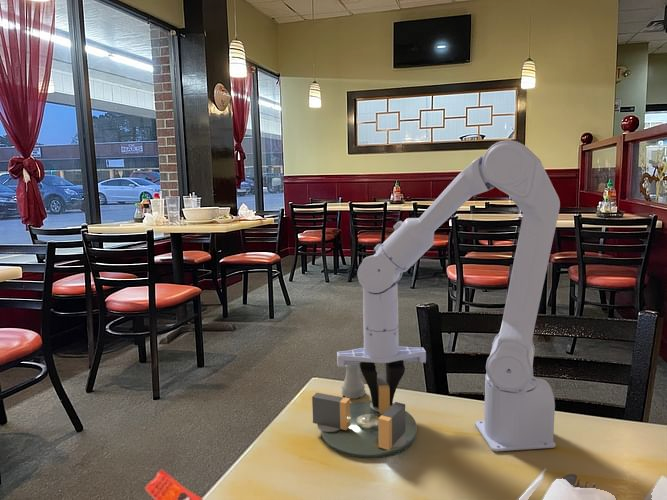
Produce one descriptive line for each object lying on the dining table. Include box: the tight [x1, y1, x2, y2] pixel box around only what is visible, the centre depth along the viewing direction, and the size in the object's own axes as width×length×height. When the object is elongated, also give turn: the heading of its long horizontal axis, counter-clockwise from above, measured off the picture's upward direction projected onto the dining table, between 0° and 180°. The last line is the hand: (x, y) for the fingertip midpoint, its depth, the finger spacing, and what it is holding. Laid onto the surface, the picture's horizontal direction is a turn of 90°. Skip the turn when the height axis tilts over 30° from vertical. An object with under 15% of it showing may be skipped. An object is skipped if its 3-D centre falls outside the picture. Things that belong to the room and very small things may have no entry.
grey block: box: [370, 373, 394, 414], centre depth 83 cm, size 6×4×5 cm
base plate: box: [320, 401, 417, 460], centre depth 78 cm, size 15×15×2 cm
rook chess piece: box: [340, 364, 366, 400], centre depth 91 cm, size 4×4×8 cm
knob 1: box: [311, 392, 351, 432], centre depth 77 cm, size 6×4×5 cm
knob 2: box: [378, 401, 407, 450], centre depth 73 cm, size 6×4×5 cm
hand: (381, 403), depth 84 cm, fingers closed
